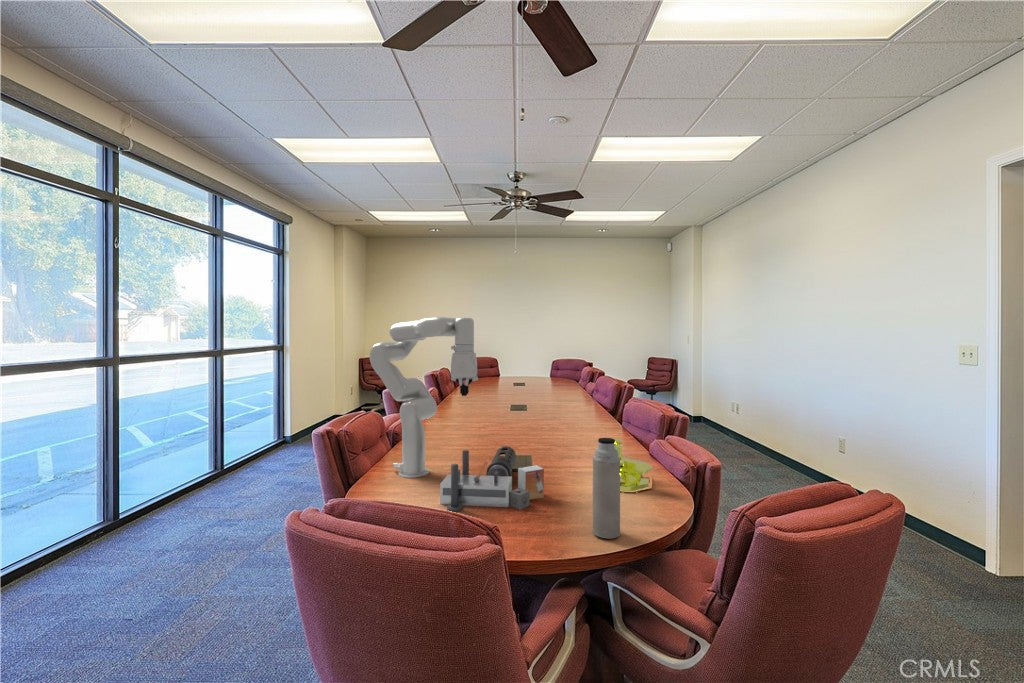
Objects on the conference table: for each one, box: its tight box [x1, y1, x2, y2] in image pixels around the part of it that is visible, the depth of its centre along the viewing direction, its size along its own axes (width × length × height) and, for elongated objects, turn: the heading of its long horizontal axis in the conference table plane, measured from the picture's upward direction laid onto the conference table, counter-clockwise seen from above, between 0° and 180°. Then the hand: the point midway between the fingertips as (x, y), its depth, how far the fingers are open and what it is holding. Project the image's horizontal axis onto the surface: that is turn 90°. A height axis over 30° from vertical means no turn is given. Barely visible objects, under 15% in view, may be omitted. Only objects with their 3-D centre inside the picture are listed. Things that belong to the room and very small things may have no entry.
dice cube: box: [509, 487, 530, 511], centre depth 151 cm, size 5×5×5 cm
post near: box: [446, 463, 463, 513], centre depth 148 cm, size 5×5×15 cm
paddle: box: [474, 457, 490, 482], centre depth 156 cm, size 2×4×8 cm
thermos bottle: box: [592, 437, 621, 539], centre depth 130 cm, size 8×8×28 cm
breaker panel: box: [439, 469, 513, 508], centre depth 156 cm, size 24×11×10 cm, turn 84°
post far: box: [461, 449, 470, 475], centre depth 166 cm, size 5×5×15 cm
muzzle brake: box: [485, 445, 517, 477], centre depth 180 cm, size 10×28×10 cm, turn 174°
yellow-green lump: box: [614, 438, 653, 492], centre depth 176 cm, size 18×25×16 cm
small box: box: [517, 464, 545, 500], centre depth 159 cm, size 8×6×10 cm
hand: (464, 395), depth 173 cm, fingers closed
